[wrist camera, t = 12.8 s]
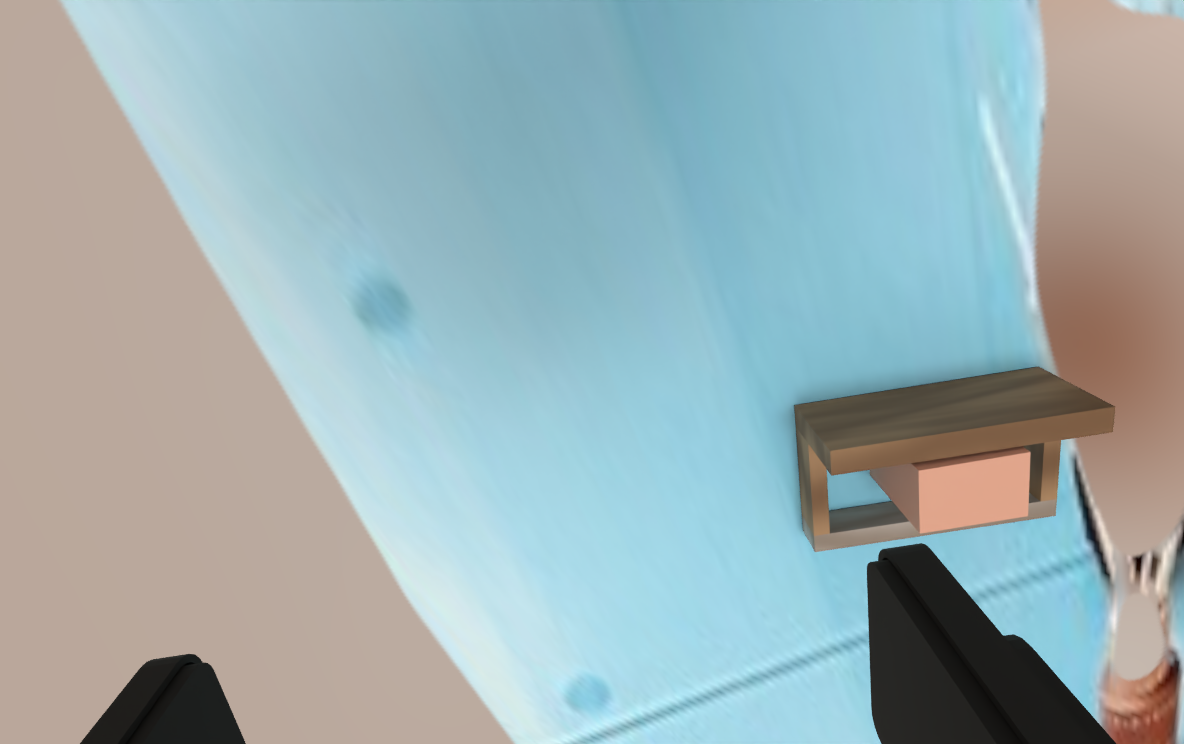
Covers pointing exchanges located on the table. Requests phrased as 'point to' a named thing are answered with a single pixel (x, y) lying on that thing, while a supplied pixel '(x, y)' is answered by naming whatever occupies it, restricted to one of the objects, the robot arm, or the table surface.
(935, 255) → the table surface
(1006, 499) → the salmon pink block
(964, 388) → the board
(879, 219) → the table surface
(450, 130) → the table surface
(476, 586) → the table surface
